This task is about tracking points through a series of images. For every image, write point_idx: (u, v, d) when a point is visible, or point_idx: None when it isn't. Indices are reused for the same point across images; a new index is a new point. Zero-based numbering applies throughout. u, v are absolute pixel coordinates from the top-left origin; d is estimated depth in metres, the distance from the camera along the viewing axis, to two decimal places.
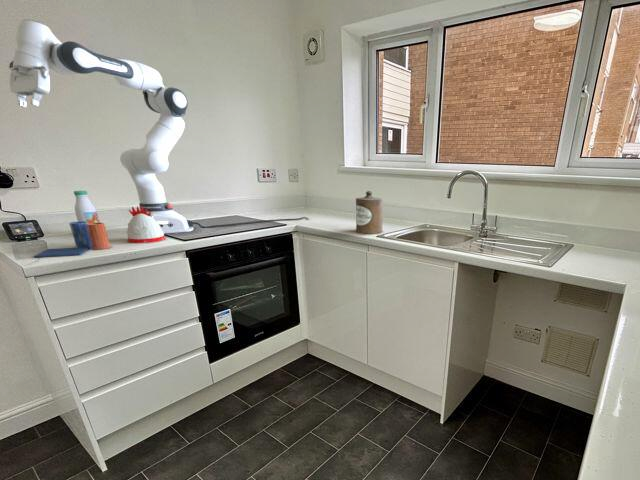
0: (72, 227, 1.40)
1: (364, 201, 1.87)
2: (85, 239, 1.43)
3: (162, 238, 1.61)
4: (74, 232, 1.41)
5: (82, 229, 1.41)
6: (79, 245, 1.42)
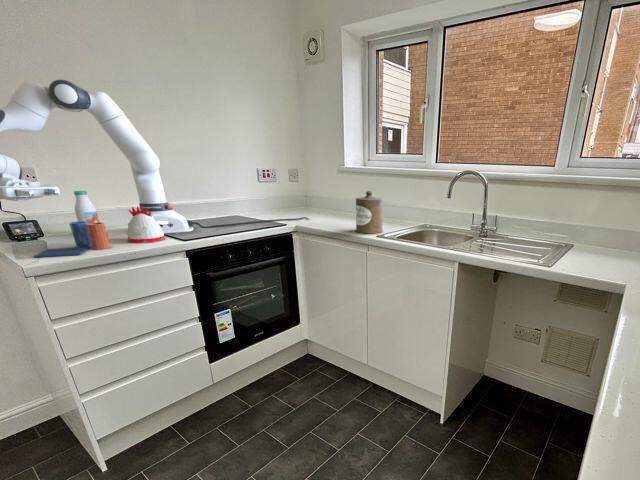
0: (72, 227, 1.40)
1: (364, 201, 1.87)
2: (85, 239, 1.43)
3: (162, 238, 1.61)
4: (74, 232, 1.41)
5: (82, 229, 1.41)
6: (79, 245, 1.42)
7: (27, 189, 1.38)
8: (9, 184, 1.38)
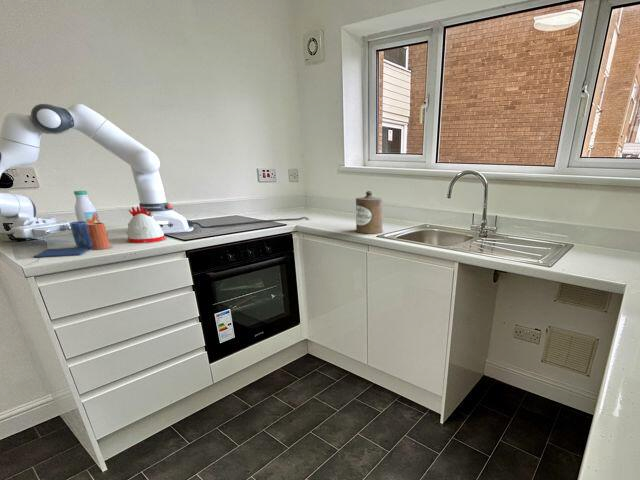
0: (72, 227, 1.40)
1: (364, 201, 1.87)
2: (85, 239, 1.43)
3: (162, 238, 1.61)
4: (74, 232, 1.41)
5: (82, 229, 1.41)
6: (79, 245, 1.42)
7: (43, 227, 1.44)
8: (27, 223, 1.43)
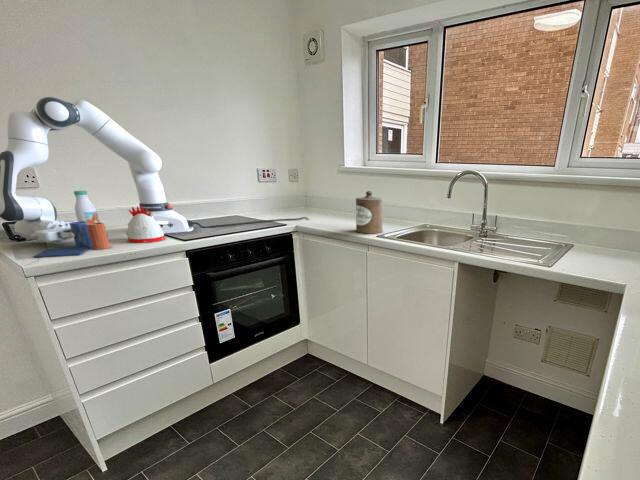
0: (72, 227, 1.40)
1: (364, 201, 1.87)
2: (85, 239, 1.43)
3: (162, 238, 1.61)
4: (74, 232, 1.41)
5: (82, 229, 1.41)
6: (79, 245, 1.42)
7: (67, 231, 1.42)
8: (50, 227, 1.42)
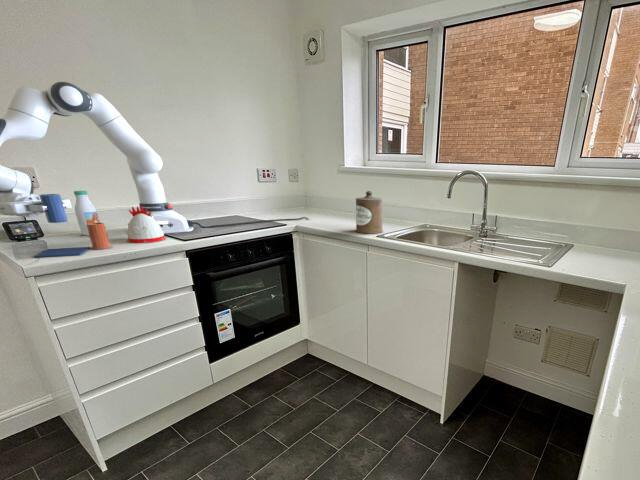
0: (42, 199, 1.28)
1: (364, 201, 1.87)
2: (57, 213, 1.31)
3: (162, 238, 1.61)
4: None
5: (53, 202, 1.29)
6: (50, 219, 1.31)
7: (37, 204, 1.30)
8: (19, 199, 1.30)
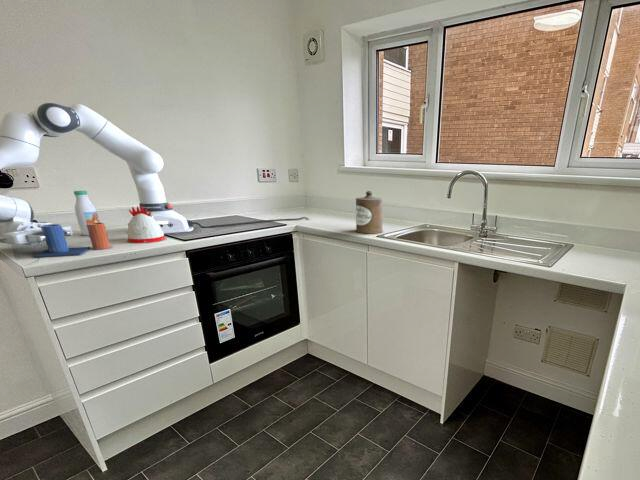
0: (44, 231, 1.29)
1: (364, 201, 1.87)
2: (58, 243, 1.32)
3: (162, 238, 1.61)
4: (46, 236, 1.30)
5: (54, 233, 1.30)
6: (52, 250, 1.32)
7: (38, 233, 1.31)
8: (20, 229, 1.31)
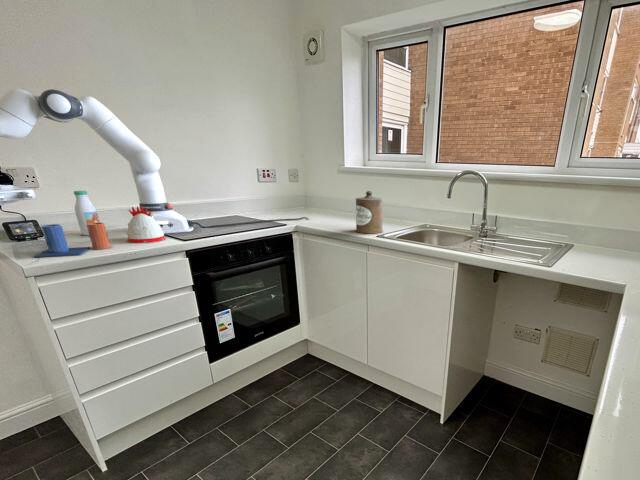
0: (44, 231, 1.29)
1: (364, 201, 1.87)
2: (58, 243, 1.32)
3: (162, 238, 1.61)
4: (46, 236, 1.30)
5: (54, 233, 1.30)
6: (52, 250, 1.32)
7: None
8: None
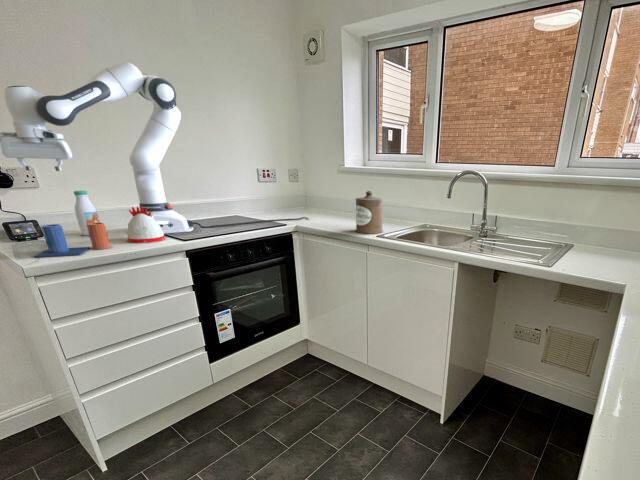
0: (44, 231, 1.29)
1: (364, 201, 1.87)
2: (58, 243, 1.32)
3: (162, 238, 1.61)
4: (46, 236, 1.30)
5: (54, 233, 1.30)
6: (52, 250, 1.32)
7: None
8: (22, 137, 1.34)
